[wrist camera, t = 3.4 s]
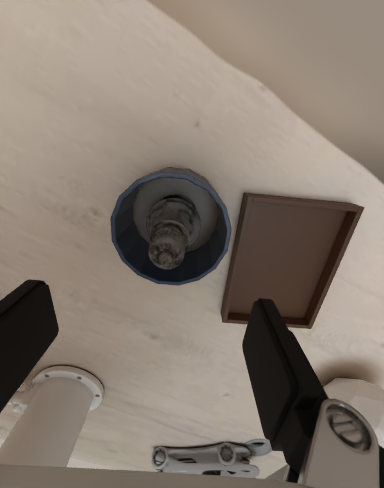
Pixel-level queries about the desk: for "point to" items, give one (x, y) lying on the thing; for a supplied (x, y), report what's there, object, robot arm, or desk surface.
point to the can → (137, 249)
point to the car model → (205, 461)
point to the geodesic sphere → (361, 401)
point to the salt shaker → (171, 230)
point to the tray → (286, 255)
